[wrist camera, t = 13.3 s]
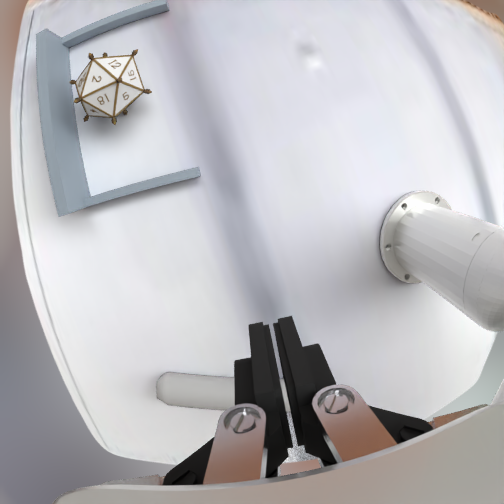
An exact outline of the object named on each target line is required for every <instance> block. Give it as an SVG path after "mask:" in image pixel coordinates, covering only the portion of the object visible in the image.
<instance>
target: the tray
mask: <svg viewBox="0 0 504 504" xmlns="http://www.w3.org/2000/svg"><path fill="white" fill-rule="evenodd" d="M165 11H169V5H168V3H167V0H155V1H152V2H149V3H146V4H142V5H139V6H136V7H133V8H130V9H128V10H125V11H122V12H119V13H117V14H114V15H111V16H109V17H106V18H104V19H101V20H99V21H97V22H94V23H92V24H90V25H87V26H85V27H83V28H81V29H79V30H77V31H74V32H72V33H70V34H68V35H66V36H64V37H62V38H61V37H59V36H58V35H56V34H54V33H53V32H51V31H49V30H48V29H45V30H43V31H41V32H39V33H38V34H36V66H37V87H38V100H39V111H40V120H41V128H42V136H43V142H44V149H45V155H46V161H47V166H48V171H49V176H50V181H51V186H52V191H53V195H54V199H55V203H56V208H57V212H58V215H59V217H60V216H63V215H66V214H69V213H72V212H74V211H77V210H80V209H82V208H85V207H88V206H92V205H95V204H98V203H101V202H105V201H108V200H111V199H115V198H118V197H121V196H125V195H128V194H132V193H136V192H139V191H143V190H147V189H150V188H154V187H158V186H162V185H166V184H170V183H174V182H178V181H182V180H186V179H190V178H195V177H199V176H201V175H200V170H199V167H197V168H192V169H188V170H184V171H180V172H176V173H172V174H168V175H164V176H160V177H156V178H153V179H149V180H145V181H142V182H138V183H135V184H131V185H128V186H124V187H121V188H118V189H114V190H111V191H108V192H104V193H101V194H98V195H95V196H92V197H91V196H90V192H89V188H88V183H87V179H86V174H85V169H84V165H83V160H82V154H81V149H80V143H79V137H78V131H77V125H76V118H75V111H74V103H73V95H72V85H71V84H70V83H69V82H70V81H71V74H70V61H69V48H70V47H72V46H74V45H76V44H78V43H80V42H83V41H85V40H87V39H89V38H92V37H94V36H96V35H99V34H101V33H104V32H106V31H109V30H111V29H114V28H116V27H119V26H122V25H124V24H127V23H130V22H133V21H136V20H139V19H142V18H145V17H148V16H152V15H155V14H158V13H162V12H165Z"/></svg>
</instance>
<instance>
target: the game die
mask: <svg viewBox="0 0 504 504" xmlns="http://www.w3.org/2000/svg"><path fill="white" fill-rule="evenodd" d="M137 52H138V49H137V50H133V52H132V55H123V56H110V57H107V54H106V53H105V52H104V54H103V57H100V58H94V56H93V54H91V53H89V56H88V57H89V59H91V61H90V62H89V64H88V65H87V66H86V68H85V69H84V71H83V72H82V73H81V75H80V76H79V78H78V79H77V80H76V81H75V80H71V81H70V82H69V83H70V84H75V85H76V88H77V92H78V95H79V98H75V101H74V102H75V103H78V102H80V101H81V103H82V106H83V108H84V110H85V112H86V114H87V115H86V116H85V118H84V122H85V121H88V119H89V116H94V117H107V118H112V120H111V121H112V123H113V124H114V125H115V124H116V122H117V120H116V118H115V117H116V116H118V115H119V114H120V113H121V112H123V114H124V115H127V112H128V111H127V110H125V109H126V108H127V107H128V106H129V105H130V104H131V103H133V102H134V101H135V100H136V99H137V98H138V97H139V96H140V95H141V94H142V93H143V92H144V93H147V94H149V93H151V92H152V91H150V89H149V90H148V89H146V90H145V89H144V87H143V84H142V81H141V78H140V75H139V72H138V69H137V66H136V63H135V60H134V56H135V55H136V54H137Z"/></svg>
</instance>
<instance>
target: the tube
mask: <svg viewBox="0 0 504 504" xmlns="http://www.w3.org/2000/svg"><path fill="white" fill-rule="evenodd" d="M280 383H281V388H282V393H283V398H284V403H285V408H286V412H291V410H290V406H289V401H288V397H287V392H286V387H285V383H284V379H280ZM156 392H157V399H159V400H161V401H162V402H164V403H165V404H167V405H172V406H180V407H190V408H200V409H213V410H227V409H229V408H230V407H232V406H235V386H234V377H217V376H204V375H192V374H182V373H173V372H167V373H165V374H163V375H162V376H161V377H160V378H159V380H158V381H157V385H156Z"/></svg>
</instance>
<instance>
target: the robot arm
mask: <svg viewBox="0 0 504 504" xmlns="http://www.w3.org/2000/svg"><path fill="white" fill-rule="evenodd" d="M401 206H402V207H401ZM386 245H387V246H386ZM380 250H381V255H382V259H383V261H384V264H385V266H386V267H387V269H388V270H389V271H390V272H391V273H392V274H393V275H394V276H395V277H397V278H398V279H399V280H401V281H403V282H406V283H412V284H413V283H421V282H423V283H424V284H426V285H427V286H428V287H430V288H431V289H432V290H434V291H435V292H436V293H438V294H439V295H440V296H442V297H443V298H444V299H446V300H447V301H448V302H450V303H451V304H452V305H453V306H455V307H456V308H457V309H459V310H460V311H461V312H462V313H464V314H465V315H466V316H467V317H469V318H470V319H471V320H473V321H474V322H475V323H476V324H478V325H479V326H481V327H482V328H484V329H486V330H489V331H494V332H501V331H504V228H503V227H500V226H498V225H495V224H492V223H489V222H486V221H483V220H480V219H477V218H474V217H471V216H468V215H465V214H462V213H459V212H456V211H452V209H451V207H450V205H449V204H448V203H447V201H446V200H445V199H443V198H442V197H441V196H440V195H438V194H436V193H433V192H429V191H421V190H420V191H414V192H411V193H409V194H406V195H405V196H403V197H402V198H400V199H399V200H398V201H397V202H396V203H395V204H394V205H393V206H392V208H391V209H390V211H389V212H388V214H387V216H386V218H385V220H384V223H383V226H382V230H381V236H380ZM273 326H274V331H275V336H276V341H277V346H278V352H279V357H280V362H281V367H282V373H283V378H284V383H285V387H286V392H287V397H288V401H289V406H290V410H291V415H292V420H293V424H294V429H295V434H296V438H297V443H298V446H302V445H304V447H305V451H306V453H309V454H311V455H313V456H316V457H318V461H319V464H320V466H321V468H319V469H314V470H310V471H305V472H300V473H296V474H290V475H284V476H280V473H281V470H280V465H281V464H282V463H283V462H284V460H285V459H286V458H287V457H289V456H288V450H287V448H292V447H293V444H292V439H291V434H290V429H289V424H288V419H287V413H286V408H285V403H284V398H283V393H282V388H281V383H280V378H279V373H278V368H277V363H276V358H275V353H274V349H273V344H272V339H271V334H270V329H269V325H264V326H263V322H260V323H255V324H250V325H249V336H250V348H251V358H246V359H240V360H235V362H234V386H235V406H232V407H230V408H229V409H227V410H226V411H225V412H224V413H223V414H222V415H221V416H220V419H219V421H218V425H217V429H216V433H215V437H213V438H212V439H211V440H210V441H208V442H207V443H206V444H205V445H203V446H202V447H201V448H200V449H198V450H197V451H196V452H194V453H193V454H192V455H191V456H189V457H188V458H187V459H185V460H184V461H183V462H181V463H180V464H178V465H177V466H176V467H174V468H173V469H172V470H171V471H169V473H167V474H166V476H163V477H160V476H159V475H158V474H157V475H152V476H146V477H139V478H132V479H124V480H115V481H108V482H104V483H102V484H101V485H99V486H88V487H84V488H78V489H74V490H71V491H68V492H66V493H63V494H62V495H60V496H59V497H58V498H57V499H56V500H55V501H54V502H53V503H52V504H504V379H503V381H502V383H501V385H500V387H499V389H498V391H497V393H496V394H495V396H494V398H493V400H492V402H491V404H490V405H487V404H484V405H479V406H476V407H472V408H469V409H465V410H462V411H458V412H454V413H451V414H447V415H443V416H439V417H435V418H433V420H432V421H430V422H426V421H425V420H422V419H419V418H415V417H411V416H406V415H402V414H398V413H394V412H390V411H387V410H383V409H379V408H375V407H372V406H368V405H367V404H366V402H365V401H364V400H363V398H362V397H361V396H360V394H359V393H358V392H357V391H356V390H355V389H354V388H352V387H350V386H347V385H336V382H335V380H334V378H333V375H332V373H331V371H330V368H329V366H328V364H327V361H326V359H325V357H324V354H323V352H322V350H321V347H320V345H319V344H314V345H309V346H305V347H302V344H301V341H300V338H299V335H298V332H297V330H296V327H295V324H294V321H293V318H292V316H289V317H284V318H280V319H278V323H274V324H273Z"/></svg>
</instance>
